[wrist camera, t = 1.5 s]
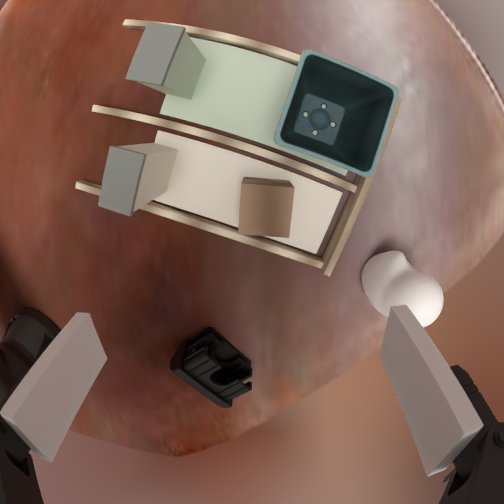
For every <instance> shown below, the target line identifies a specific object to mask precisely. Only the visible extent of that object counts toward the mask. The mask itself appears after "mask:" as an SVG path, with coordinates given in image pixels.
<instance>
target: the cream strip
mask: <svg viewBox="0 0 504 504" xmlns="http://www.w3.org/2000/svg"><path fill="white" fill-rule="evenodd" d="M243 177H256V178H268V179H280V180H289V181H290V182H291V183H292V185H293V186H294V188H295V190H294V199H293V208H292V217H291V226H290V234H289V238H282V237H269V236H265V237H268V238H271V239H274V240H277V241H280V242H282V243H285V244H288V245H291V246H294V247H297V248H300V249H303V250H306V251H309V252H311V253H314V254H316V253H317V251H318V249H319V247H320V244H321V242H322V240H323V238H324V235H325V233H326V231H327V229H328V226H329V224H330V222H331V219H332V217H333V215H334V212H335V210H336V207H337V205H338V203H339V200H340V198H341V195H342V192H341V191H338V190H336V189H333V188H331V187H329V186H326V185H324V184H321V183H319V182H316V181H314V180H311V179H309V178H306V177H303V176H301V175H298V174H296V173H293V172H290V171H288V170H285V169H282V168H279V167H277V166H274V165H271V164H268V163H265V162H262V161H260V160H257V159H254V158H251V157H248V156H245V155H242V154H239V153H236V152H233V151H229V150H226V149H223V148H220V147H217V146H213V145H210V144H207V143H203V142H200V141H197V140H193V139H190V138H186V137H182V136H179V135H175V134H171V133H168V132H164V131H160V130H158V132H157V135H156V139H155V142H154V143H147V144H136V145H127V146H118V147H117V146H110V148H109V153H108V157H107V161H106V166H105V171H104V176H103V181H102V186H101V191H100V197H99V203H98V206H100V207H103V208H106V209H109V210H112V211H115V212H118V213H121V214H124V215H127V216H131V215H133V212H134V211H136V210H138V209H139V208H141V207H142V206H144V205H145V204H147V203H148V202H150V201H151V200H155V201H158V202H161V203H164V204H168V205H171V206H174V207H177V208H180V209H183V210H186V211H189V212H192V213H195V214H199V215H202V216H205V217H208V218H211V219H214V220H217V221H220V222H223V223H226V224H229V225H232V226H235V227H238V226H239V210H240V194H241V183H242V180H243Z"/></svg>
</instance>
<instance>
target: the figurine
mask: <svg viewBox="0 0 504 504" xmlns="http://www.w3.org/2000/svg"><path fill="white" fill-rule="evenodd" d="M361 279H362V285H363V289H364V291H365V294H366V296H367V297H368V299H369V301H370V302H371V304H372V305H373V306H374V308H375V309H376V310H377V311H379V312H380V313H381V314H383V315H384V316H386V317H389V312H390V308H391V306H398V305H407V306H408V308H409V309H410V310H411V312H412V313H413V314H414V316H415V317H416V319H417V320H418V321H419V323H420V324H421V326H422V327H425V326H428V325H430V324H431V323H432V322H434V321H435V319H436V318H437V317H438V316H439V314H440V312H441V310H442V307H443V293H442V289H441V287H440V285H439V284H438V282H437V281H436V280H435V279H434V278H433V277H431V276H430V275H428V274H425V273H421V272H418V271H417V270H416V269H414V268H413V267H412V266H411V265H410V263H409V262H408V261H407V260H406V258H405V256H404V254H403V253H402V252H400V251H388V252H385V253H380V254H377V255H375V256H373V257H372V258H371V259H369V260H368V262H367V263H366V264H365V266H364V268H363V270H362V275H361Z"/></svg>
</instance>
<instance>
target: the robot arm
mask: <svg viewBox="0 0 504 504" xmlns="http://www.w3.org/2000/svg"><path fill="white" fill-rule="evenodd" d="M379 356H380V359H381V361H382V363H383V366H384V368H385V370H386V372H387V374H388V377H389V379H390V381H391V384H392V386H393V389H394V391H395V393H396V396H397V398H398V400H399V403H400V405H401V408H402V410H403V413H404V415H405V418H406V420H407V423H408V425H409V428H410V430H411V433H412V435H413V438H414V441H415V444H416V447H417V449H418V452H419V455H420V458H421V460H422V463H423V466H424V469H425V472H426V475H427V476H430V475H433V474H435V473H437V472H440V471H443V470H445V469H446V468H447V467H448V466H449V465H450V464H451V463H452V462H453V463H454V465H455V468H454V469H453V470H452V471H451V472H450V473H449V474H448V475H447V476H446V477H445V479H444V480H443V482H446V481H447V480H448V479H449V478H450V479H449V482H448V484H447V487H446V489H445V491H444V494H443V496H442V498H441V500H440V502H439V504H504V422H498V421H497V420H496V418H495V416H494V415H493V413H492V411H491V410H490V408H489V406H488V405H487V403H486V401H485V400H484V398H483V396H482V395H481V393H480V392H478V391H479V390H478V388H477V387H476V385H475V384H473V383H474V382H473V381H472V379H471V378H470V376H469V374H468V373H467V372H466V371H465V370H463V369H462V368H461V367H459V366H458V365H455V366H451V367H449V366H448V364H447V363H446V361H445V359H444V358H443V356H442V355H441V354H440V352H439V350H438V349H437V347H436V346H435V344H434V343H433V341H432V340H431V338H430V337H429V336H428V334H427V333H426V331H425V330H424V328H423V327H422V326H421V324H420V323H419V321H418V320H417V319H416V317H415V316H414V314H413V313H412V312H411V310H410V309H409V308H408V306H407V305H398V306H391V308H390V312H389V317H388V322H387V326H386V330H385V335H384V339H383V343H382V347H381V350H380V354H379ZM106 360H107V356H106V354H105V352H104V349H103V347H102V345H101V342H100V340H99V337H98V335H97V332H96V330H95V327H94V324H93V322H92V319H91V316H90V314H89V313H80V312H77V313H76V314H75V315H74V316H73V318H72V319H71V320H70V321H69V322H68V323H67V324H66V326H65V327H64V328H63V329H62V330H61V331H60V329H59V328H58V327H57V326H56V325H55V324H54V323H53V322H52V321H51V320H50V319H49V318H48V317H46V316H45V315H44V314H42V313H41V312H39V311H37V310H35V309H32V308H28V307H24V308H21V309H19V310H18V311H17V312H16V313H15V314H14V315H13V316H12V318H11V320H10V322H9V324H8V327H7V329H6V331H5V334H4V336H3V338H2V340H1V342H0V504H44V503H43V500H42V496H41V492H40V489H39V485H38V482H37V477H36V473H35V469H34V464H33V460H32V457H31V455H30V454H29V451H30V449H31V450H33V452H34V453H35V454H36V455H37V456H38V457H40V458H42V459H45V460H46V461H49V462H51V463H52V462H53V460H54V457H55V455H56V453H57V451H58V449H59V447H60V445H61V443H62V441H63V439H64V437H65V435H66V433H67V431H68V429H69V427H70V425H71V423H72V421H73V419H74V418H75V416H76V414H77V412H78V410H79V408H80V406H81V404H82V403H83V401H84V399H85V397H86V395H87V393H88V392H89V390H90V388H91V386H92V384H93V383H94V381H95V379H96V377H97V376H98V374H99V372H100V370H101V369H102V367H103V365H104V364H105V362H106Z"/></svg>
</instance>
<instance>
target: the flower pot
mask: <svg viewBox="0 0 504 504" xmlns="http://www.w3.org/2000/svg"><path fill="white" fill-rule="evenodd" d="M397 99H398V88H397V87H396V86H394V85H392V84H390V83H388V82H386V81H384V80H382V79H380V78H378V77H376V76H374V75H371V74H369V73H367V72H365V71H363V70H360V69H358V68H356V67H353V66H351V65H349V64H346V63H344V62H342V61H339V60H337V59H334V58H332V57H329V56H327V55H324V54H322V53H319V52H317V51H314V50H309V49H305V50H304V51H303V52H302V54H301V56H300V60H299V63H298V66H297V69H296V72H295V75H294V79H293V82H292V85H291V88H290V91H289V93H288V96H287V100H286V103H285V106H284V108H283V111H282V114H281V117H280V120H279V123H278V126H277V129H276V132H275V135H274V142H275V143H276V144H277V145H279V146H281V147H284V148H288V149H291V150H294V151H297V152H300V153H303V154H306V155H309V156H312V157H315V158H318V159H321V160H323V161H326V162H329V163H331V164H334V165H336V166H339V167H341V168H344V169H346V170H349V171H351V172H354V173H356V174H358V175H360V176H363V177H365V178H371V177H372V176H373V174H374V171H375V169H376V165H377V163H378V159H379V156H380V153H381V150H382V146H383V143H384V140H385V137H386V134H387V131H388V127H389V124H390V121H391V117H392V114H393V111H394V108H395V104H396V101H397ZM322 104H325V105H326V108H322ZM304 112H307V113H308V116H307V117H305V116H304V115H303V114H304ZM332 122H334V123H335V127H332V126H331V123H332ZM314 130H316V131H317V132H318V133H317V135H314V134H313V131H314Z"/></svg>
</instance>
